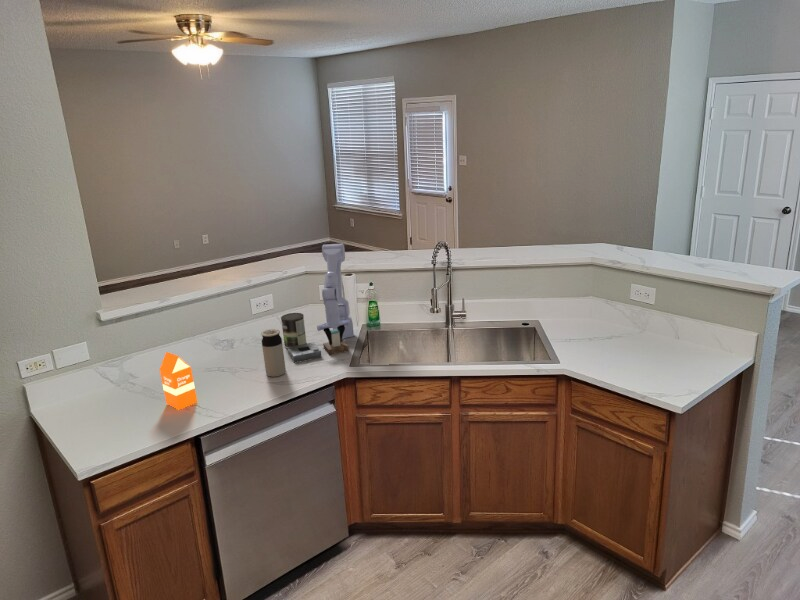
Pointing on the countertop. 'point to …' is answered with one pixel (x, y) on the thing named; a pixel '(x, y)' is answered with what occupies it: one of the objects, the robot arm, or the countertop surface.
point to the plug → (335, 338)
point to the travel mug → (273, 353)
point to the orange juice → (177, 382)
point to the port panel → (304, 352)
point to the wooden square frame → (335, 348)
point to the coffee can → (293, 329)
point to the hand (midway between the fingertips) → (335, 342)
